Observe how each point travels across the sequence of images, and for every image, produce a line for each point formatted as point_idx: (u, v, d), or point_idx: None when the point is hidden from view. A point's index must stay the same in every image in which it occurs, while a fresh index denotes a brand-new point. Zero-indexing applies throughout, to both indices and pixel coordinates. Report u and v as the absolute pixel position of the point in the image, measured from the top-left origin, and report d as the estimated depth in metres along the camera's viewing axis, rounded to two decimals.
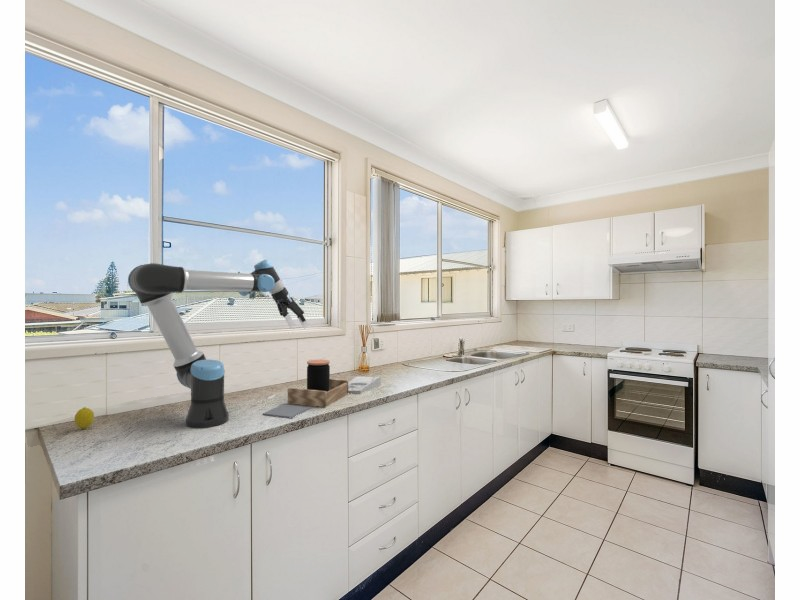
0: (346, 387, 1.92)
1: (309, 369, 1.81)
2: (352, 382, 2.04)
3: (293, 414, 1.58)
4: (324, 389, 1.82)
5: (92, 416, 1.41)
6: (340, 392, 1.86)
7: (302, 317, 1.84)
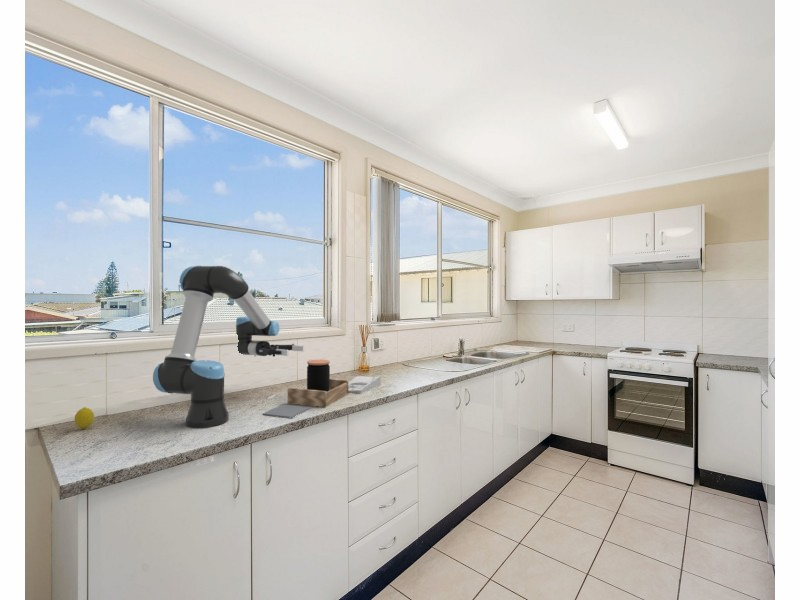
0: (346, 387, 1.92)
1: (309, 369, 1.81)
2: (352, 382, 2.04)
3: (293, 414, 1.58)
4: (324, 389, 1.82)
5: (92, 416, 1.41)
6: (340, 392, 1.86)
7: None
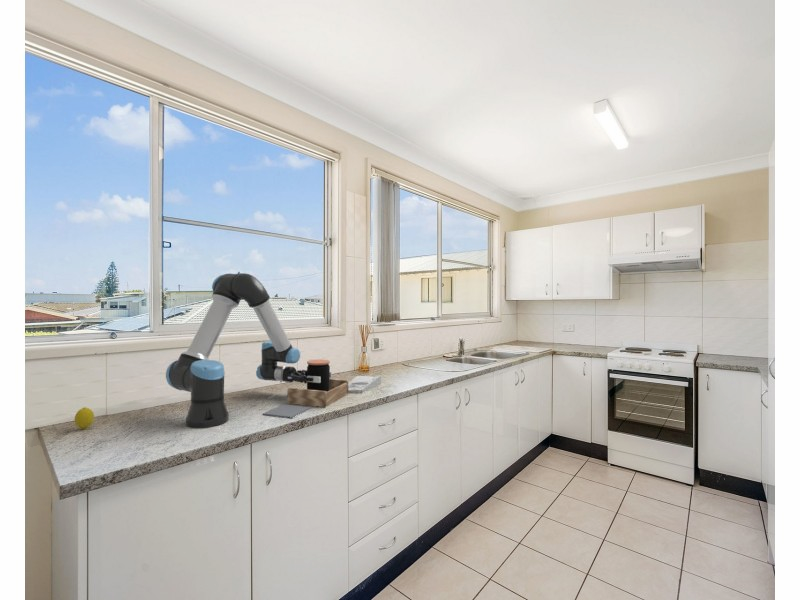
0: (346, 387, 1.92)
1: (309, 369, 1.81)
2: (353, 382, 2.05)
3: (293, 414, 1.58)
4: (324, 389, 1.82)
5: (92, 416, 1.41)
6: (340, 392, 1.86)
7: None
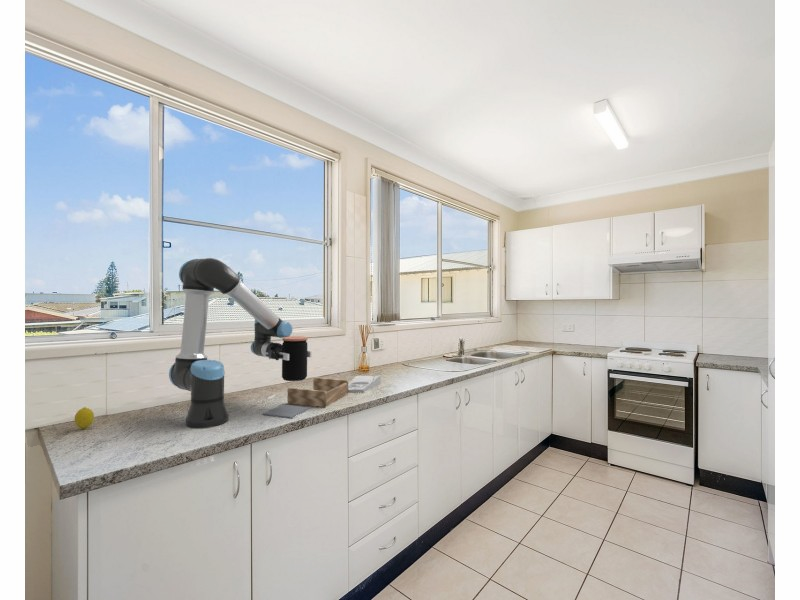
0: (346, 387, 1.92)
1: (282, 345, 1.65)
2: (353, 381, 2.06)
3: (293, 414, 1.58)
4: (295, 368, 1.62)
5: (92, 416, 1.41)
6: (340, 392, 1.86)
7: None
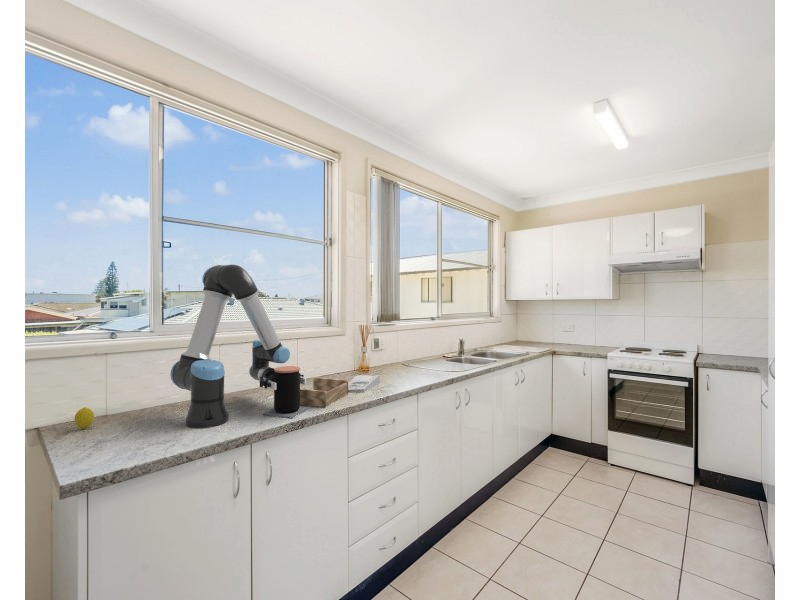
0: (346, 387, 1.92)
1: (274, 376, 1.62)
2: (354, 381, 2.06)
3: (293, 414, 1.58)
4: (286, 401, 1.59)
5: (92, 416, 1.41)
6: (340, 392, 1.86)
7: None
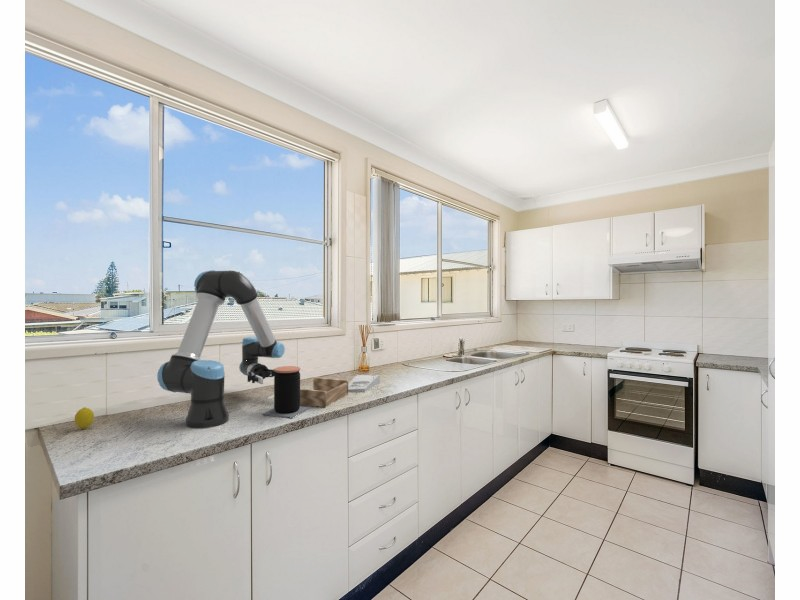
0: (346, 387, 1.92)
1: (274, 376, 1.62)
2: (354, 381, 2.07)
3: (293, 414, 1.58)
4: (286, 401, 1.59)
5: (92, 416, 1.41)
6: (340, 392, 1.86)
7: None
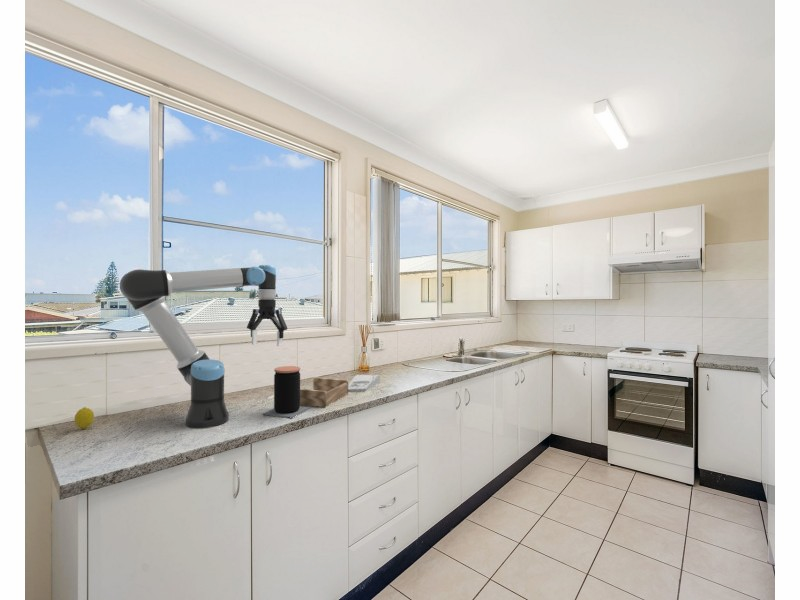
0: (346, 387, 1.92)
1: (274, 376, 1.62)
2: (354, 381, 2.07)
3: (293, 414, 1.58)
4: (286, 401, 1.59)
5: (92, 416, 1.41)
6: (340, 392, 1.86)
7: (282, 333, 1.75)
